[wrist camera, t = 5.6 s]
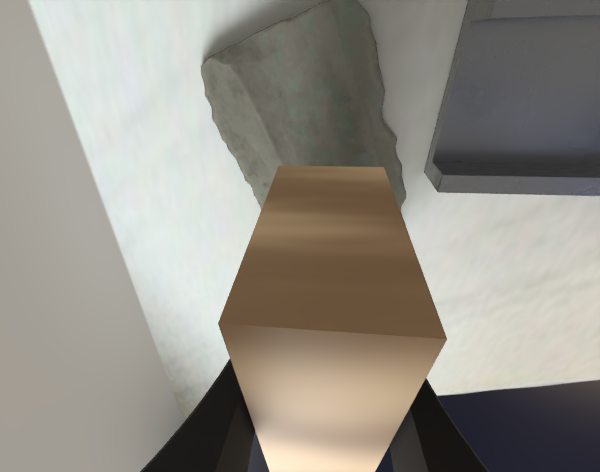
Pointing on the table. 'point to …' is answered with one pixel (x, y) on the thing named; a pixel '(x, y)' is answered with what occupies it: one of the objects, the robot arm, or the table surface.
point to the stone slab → (304, 97)
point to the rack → (522, 101)
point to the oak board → (330, 320)
